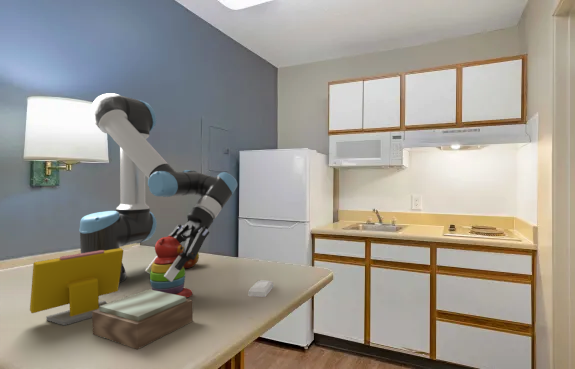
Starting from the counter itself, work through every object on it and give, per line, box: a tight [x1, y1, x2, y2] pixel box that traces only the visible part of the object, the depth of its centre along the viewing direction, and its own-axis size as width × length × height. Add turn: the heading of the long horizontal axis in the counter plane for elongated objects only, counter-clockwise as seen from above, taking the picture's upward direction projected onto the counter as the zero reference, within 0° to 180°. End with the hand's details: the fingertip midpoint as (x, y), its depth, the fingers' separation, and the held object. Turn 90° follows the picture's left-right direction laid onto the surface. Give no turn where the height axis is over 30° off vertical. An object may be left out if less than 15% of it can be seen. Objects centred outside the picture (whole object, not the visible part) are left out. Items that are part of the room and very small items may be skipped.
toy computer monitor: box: [29, 247, 124, 326], centre depth 86 cm, size 20×8×16 cm, turn 141°
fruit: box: [179, 246, 200, 269], centre depth 133 cm, size 10×9×8 cm
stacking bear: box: [149, 234, 193, 299], centre depth 96 cm, size 11×10×18 cm
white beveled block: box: [248, 279, 274, 298], centre depth 101 cm, size 5×9×3 cm, turn 168°
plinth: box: [91, 288, 194, 350], centre depth 77 cm, size 15×15×6 cm
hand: (158, 276), depth 94 cm, fingers closed on stacking bear, 9 cm apart
